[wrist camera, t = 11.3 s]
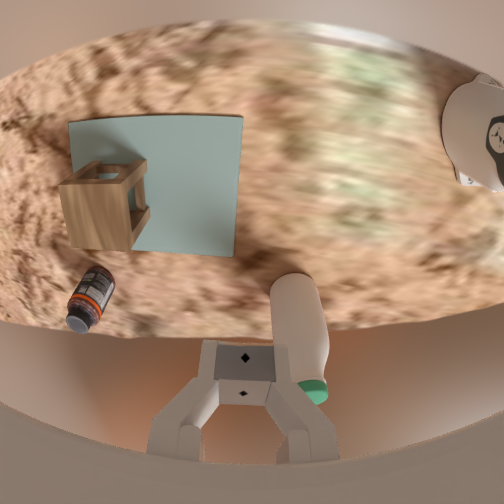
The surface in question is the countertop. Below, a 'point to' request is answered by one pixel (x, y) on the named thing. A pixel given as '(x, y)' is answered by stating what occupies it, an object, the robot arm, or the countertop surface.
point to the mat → (173, 175)
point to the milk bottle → (301, 331)
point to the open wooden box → (104, 206)
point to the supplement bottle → (89, 299)
